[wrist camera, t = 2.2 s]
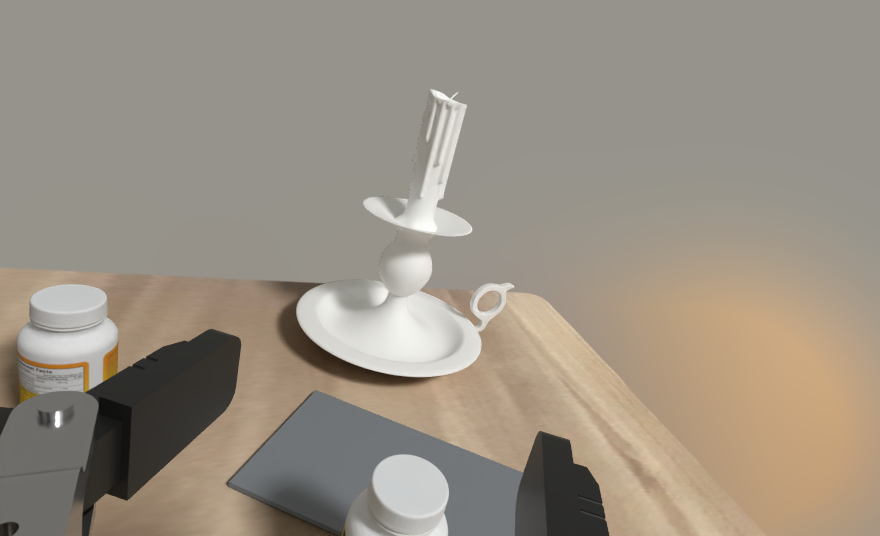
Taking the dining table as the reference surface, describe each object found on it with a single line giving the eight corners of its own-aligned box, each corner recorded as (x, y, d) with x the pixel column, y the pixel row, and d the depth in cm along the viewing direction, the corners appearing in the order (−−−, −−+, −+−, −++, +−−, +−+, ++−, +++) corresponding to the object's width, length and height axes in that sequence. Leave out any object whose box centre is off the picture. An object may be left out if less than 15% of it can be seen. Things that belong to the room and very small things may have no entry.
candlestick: (537, 396, 53) (637, 141, 43) (309, 409, 42) (376, 69, 32) (458, 305, 70) (518, 108, 60) (280, 297, 59) (319, 53, 49)
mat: (577, 642, 29) (579, 638, 29) (228, 486, 33) (229, 481, 32) (575, 498, 40) (577, 494, 40) (315, 393, 44) (315, 390, 44)
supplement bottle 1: (87, 384, 38) (87, 272, 34) (133, 417, 36) (138, 301, 33) (3, 418, 33) (-6, 292, 30) (51, 457, 31) (48, 327, 28)
